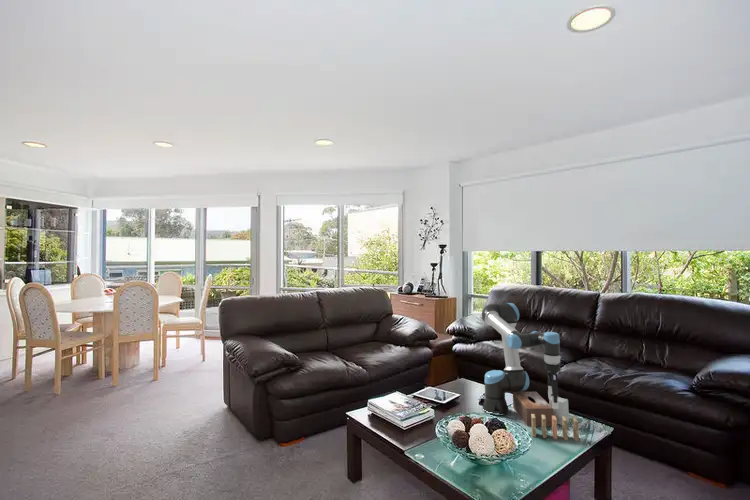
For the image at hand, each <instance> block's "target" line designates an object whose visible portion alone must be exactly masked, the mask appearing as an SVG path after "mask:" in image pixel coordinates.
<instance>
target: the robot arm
mask: <svg viewBox="0 0 750 500" xmlns="http://www.w3.org/2000/svg"><path fill="white" fill-rule="evenodd" d="M481 318H482V320H483V322H484V323H485V324H486V325H487V326H491V327H492V328H493V329H494V330H496V331H497V332H498V334H500V335H501V341H502V347H503V355H504V361H505V368H504V369H503V370H500V369H499V370H498V369H497V370H496V369H492V370H489V371H486V372H485V374H484V400H483V403H482V410H483V409H484V410H486V411H488V412H493V413H499V414H506V415H507V414H509V412H510V411H509V409H510V408H509V406H508V403H507V401H506V394H507V393H513V392H526V391H527V390H528V388H529V386H530V377H529V375H528V373H527V371H526V370H525V371H524V368H523V367H522V366H521V362H520V361H521V360H520V354H519V349H528V348H542V349H543V362H544V370H545V371H547V388H548V389H547V395H548V399H549V398H550V399H552V408H553V409H558V397H560V394H559V386H558V374H557V373H559V372H561V359H562V356H561V345H560V344H561V341H560V334H559V333H558V332H554V331H546V332H544V333H543V332H541V331H536V330H533V331H531V332H530V333H528V332H527V333H521V332H519V330H517V329H516V328H515V327H516V325H517V321H519V319H520V311H519V309H518V307H517V306H516V305H515V303H512V302H502V303H500V302H499V303H490V304H487V305H486V306H484V308H482V311H481Z"/></svg>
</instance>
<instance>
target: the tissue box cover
mask: <svg viewBox="0 0 750 500" xmlns="http://www.w3.org/2000/svg"><path fill="white" fill-rule="evenodd" d="M512 409H513V410H514V411H515V413H516V414H517V415H518V416H519V417H520V419H521V420H522V422H523V423H524V424H525V426H526V427H532V420H531V414H535V418H536V427H542V416H541V415H545V417H546V427H552V416H553V408H552V407H551V406H550V405H549V403H548V402H547V400H546V399H544V398H543V397H542V396H541V395H540V394H539V393H538V392H537V391H521V392H512Z"/></svg>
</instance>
